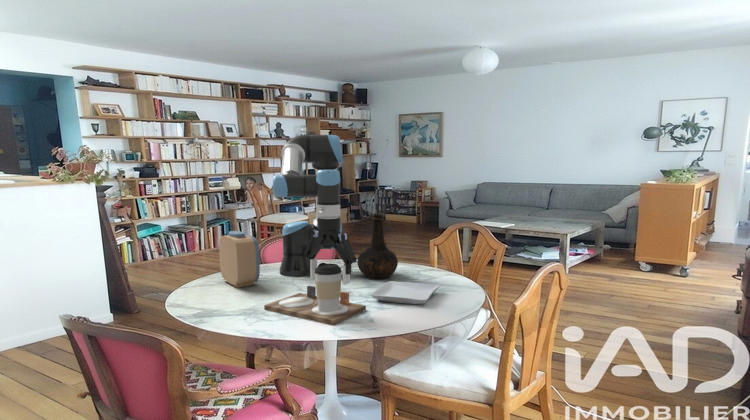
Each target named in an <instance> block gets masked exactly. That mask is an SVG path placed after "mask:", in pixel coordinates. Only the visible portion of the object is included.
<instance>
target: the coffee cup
mask: <svg viewBox="0 0 750 420" xmlns="http://www.w3.org/2000/svg"><path fill="white" fill-rule="evenodd" d="M314 273H315V278H314V281H315V287H316V296H317V299H318V310H319V311H323V312H332V311H336V310H338V309H339V301H340V292H342V291H341V289H342V288H341V287H342V273H343V270H342V267H340V266H339V264H338V263H327V262H320V263H319V264H317V268H316V269H315V272H314Z"/></svg>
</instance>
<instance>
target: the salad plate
mask: <svg viewBox="0 0 750 420" xmlns="http://www.w3.org/2000/svg"><path fill="white" fill-rule="evenodd" d="M439 288H440V284H433V283H423V282H422V283H421V282H412V281H411V282H409V281H408V282H407V281H393V280H392V281H391V280H388V281H387V282H385V283H383V284H382V285H381V286H379V287H378V288H377V289H376V290H374V291H373V292H372V293H370V296H371V297H372V298H373V299H375V300H378V301H381V302H389V303H396V304H397V303H398V304H407V305H424V304H425V303H427V301H428V300H429V298H430V297H431V296H432V295H433V294H434V293H435V292H436V291H437V290H438V289H439Z"/></svg>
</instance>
